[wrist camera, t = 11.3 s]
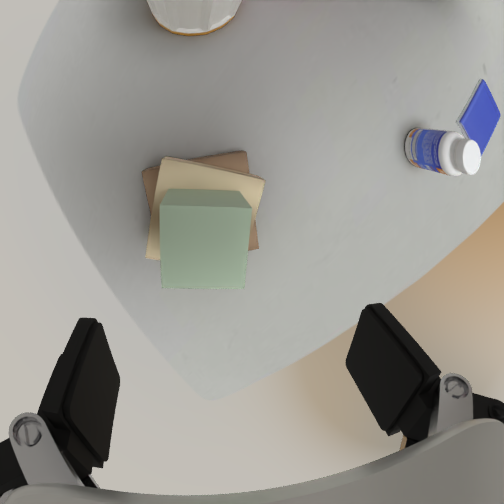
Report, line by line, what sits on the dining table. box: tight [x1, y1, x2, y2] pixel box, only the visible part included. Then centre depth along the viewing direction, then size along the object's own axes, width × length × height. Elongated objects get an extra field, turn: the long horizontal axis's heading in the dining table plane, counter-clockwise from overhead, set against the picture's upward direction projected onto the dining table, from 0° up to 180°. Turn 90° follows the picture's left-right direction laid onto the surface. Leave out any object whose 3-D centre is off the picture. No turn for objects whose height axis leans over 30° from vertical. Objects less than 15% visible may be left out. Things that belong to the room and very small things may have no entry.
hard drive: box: [456, 79, 500, 156], centre depth 31 cm, size 2×8×12 cm
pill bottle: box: [405, 128, 481, 176], centre depth 27 cm, size 5×5×10 cm
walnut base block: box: [142, 151, 259, 251], centre depth 29 cm, size 10×10×3 cm
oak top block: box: [145, 156, 265, 260], centre depth 26 cm, size 9×9×3 cm
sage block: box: [160, 189, 252, 289], centre depth 22 cm, size 6×6×6 cm
